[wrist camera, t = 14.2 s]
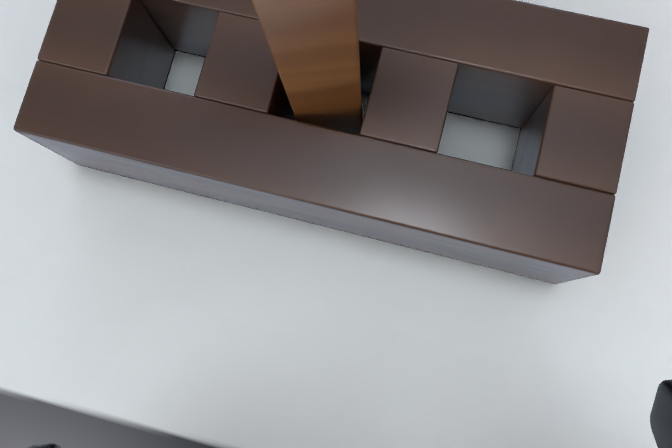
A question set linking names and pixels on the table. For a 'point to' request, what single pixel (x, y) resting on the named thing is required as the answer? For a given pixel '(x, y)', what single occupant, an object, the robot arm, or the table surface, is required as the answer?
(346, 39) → the brown beam with peg
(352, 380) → the table surface
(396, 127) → the rack
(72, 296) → the table surface
